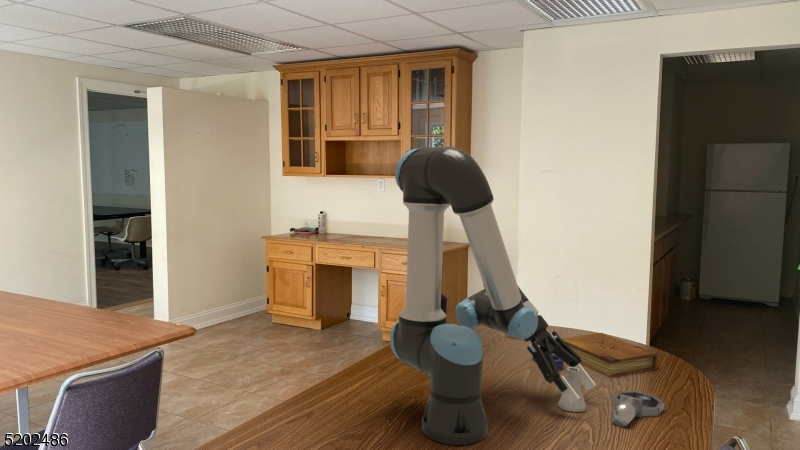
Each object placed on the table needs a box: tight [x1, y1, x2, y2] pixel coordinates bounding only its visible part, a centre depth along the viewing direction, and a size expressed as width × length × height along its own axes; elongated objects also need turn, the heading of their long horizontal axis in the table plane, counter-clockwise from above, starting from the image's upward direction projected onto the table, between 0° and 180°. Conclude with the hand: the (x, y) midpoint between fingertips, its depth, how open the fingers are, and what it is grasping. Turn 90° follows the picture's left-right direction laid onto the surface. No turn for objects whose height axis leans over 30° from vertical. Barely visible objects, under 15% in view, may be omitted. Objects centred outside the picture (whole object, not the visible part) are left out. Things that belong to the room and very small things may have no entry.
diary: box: [560, 332, 659, 378], centre depth 182 cm, size 23×19×6 cm
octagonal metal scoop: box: [610, 390, 665, 428], centre depth 144 cm, size 20×11×4 cm, turn 142°
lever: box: [532, 354, 565, 372], centre depth 178 cm, size 12×6×3 cm, turn 23°
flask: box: [556, 366, 587, 413], centre depth 146 cm, size 7×7×10 cm
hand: (583, 394), depth 144 cm, fingers open, 10 cm apart
